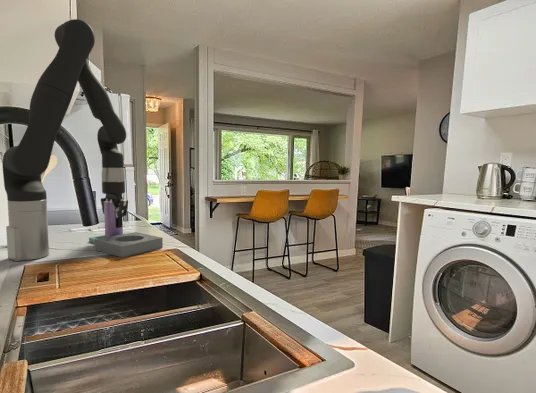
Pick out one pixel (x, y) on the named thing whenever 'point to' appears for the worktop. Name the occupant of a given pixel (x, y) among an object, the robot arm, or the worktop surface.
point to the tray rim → (92, 239)
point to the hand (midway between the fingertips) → (114, 226)
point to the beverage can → (111, 220)
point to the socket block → (128, 244)
